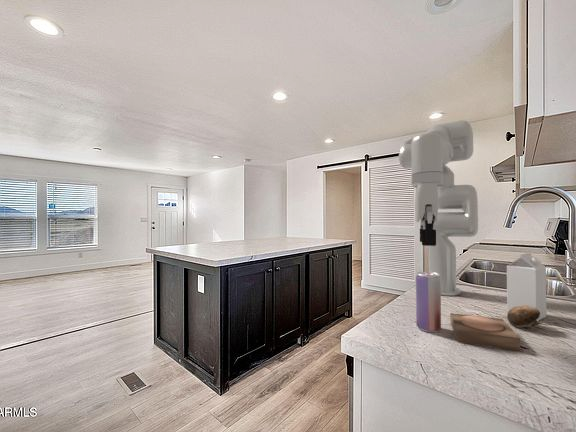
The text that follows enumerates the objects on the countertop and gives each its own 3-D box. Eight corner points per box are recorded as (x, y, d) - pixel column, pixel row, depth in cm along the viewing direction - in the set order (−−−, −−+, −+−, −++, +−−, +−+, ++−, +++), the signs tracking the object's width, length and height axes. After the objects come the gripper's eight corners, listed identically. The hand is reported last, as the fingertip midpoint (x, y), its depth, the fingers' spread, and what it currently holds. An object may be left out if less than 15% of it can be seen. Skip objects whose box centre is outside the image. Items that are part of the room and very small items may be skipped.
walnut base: (450, 323, 77) (450, 311, 77) (502, 330, 72) (502, 317, 72) (458, 342, 66) (458, 327, 66) (520, 351, 61) (520, 335, 61)
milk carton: (506, 314, 83) (506, 252, 83) (517, 309, 87) (516, 250, 87) (536, 322, 77) (536, 255, 77) (546, 317, 81) (546, 253, 80)
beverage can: (415, 330, 72) (415, 275, 72) (416, 322, 78) (416, 270, 78) (441, 335, 70) (440, 277, 70) (440, 326, 75) (440, 272, 75)
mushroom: (554, 317, 72) (535, 297, 74) (545, 336, 68) (525, 314, 70) (524, 322, 79) (507, 303, 80) (514, 339, 75) (496, 318, 76)
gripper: (410, 185, 83) (411, 240, 83) (412, 177, 67) (413, 246, 67) (438, 183, 80) (439, 241, 80) (447, 175, 64) (448, 247, 64)
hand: (427, 243), depth 73 cm, fingers open, 9 cm apart
